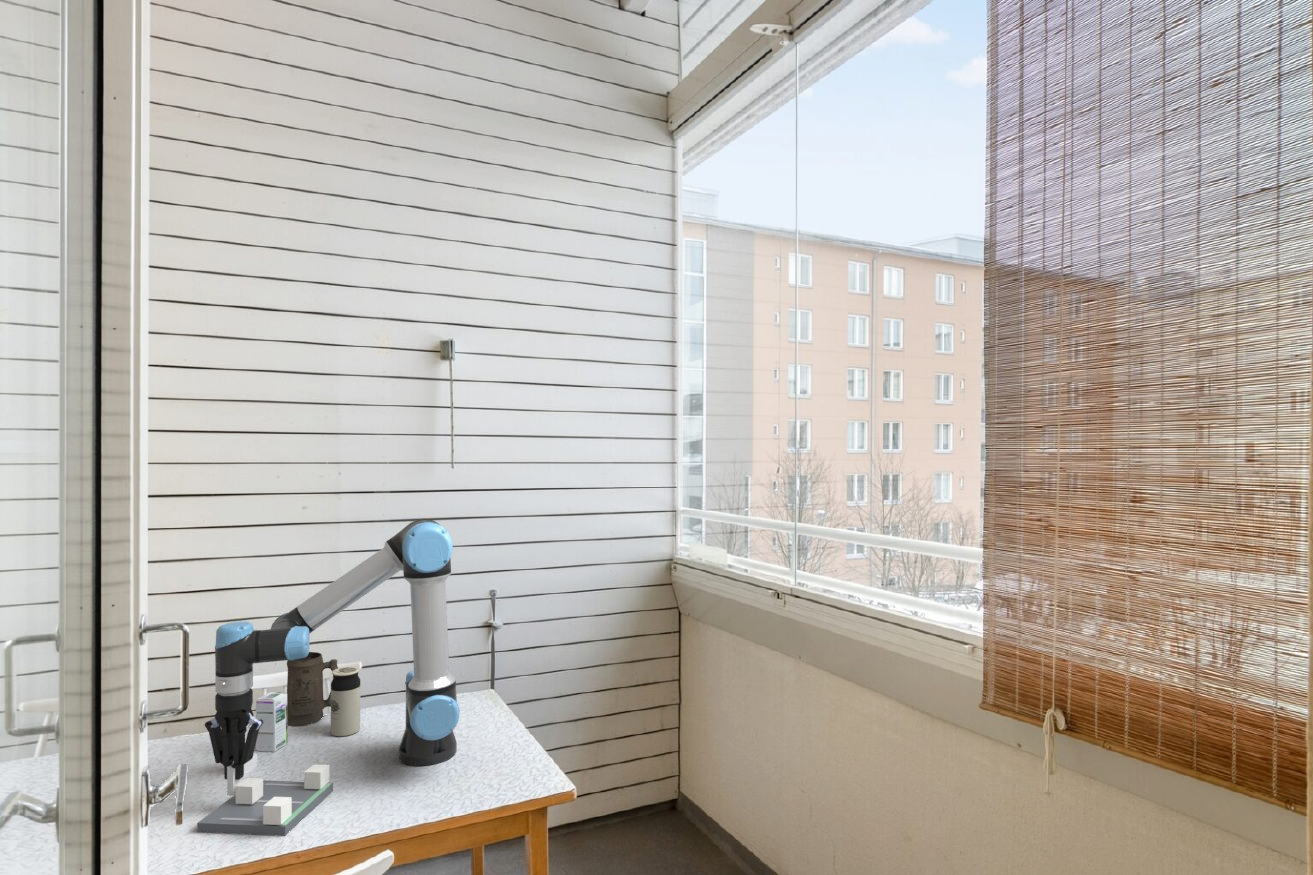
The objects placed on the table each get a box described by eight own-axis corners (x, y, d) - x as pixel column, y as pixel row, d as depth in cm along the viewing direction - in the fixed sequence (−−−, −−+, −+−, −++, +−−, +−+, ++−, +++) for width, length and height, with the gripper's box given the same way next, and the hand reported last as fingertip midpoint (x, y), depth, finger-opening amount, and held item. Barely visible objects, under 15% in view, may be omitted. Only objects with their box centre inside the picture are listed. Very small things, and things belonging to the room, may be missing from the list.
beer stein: (280, 728, 213) (285, 661, 213) (283, 716, 223) (288, 651, 223) (337, 724, 219) (342, 658, 220) (337, 712, 229) (342, 649, 229)
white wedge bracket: (214, 772, 179) (228, 735, 184) (240, 777, 188) (253, 741, 192) (226, 774, 179) (240, 736, 183) (252, 778, 187) (265, 742, 191)
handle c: (291, 815, 159) (291, 797, 159) (280, 824, 155) (280, 806, 155) (274, 814, 160) (274, 796, 160) (263, 824, 156) (263, 805, 156)
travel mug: (354, 724, 217) (354, 664, 217) (364, 731, 211) (364, 670, 211) (326, 731, 211) (327, 669, 212) (336, 739, 206) (336, 676, 206)
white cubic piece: (329, 781, 175) (329, 764, 175) (320, 789, 171) (320, 772, 171) (313, 780, 176) (313, 764, 176) (304, 788, 172) (304, 771, 172)
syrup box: (275, 752, 197) (275, 699, 197) (255, 751, 198) (255, 698, 198) (288, 743, 203) (288, 692, 203) (268, 742, 203) (268, 691, 203)
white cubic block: (263, 795, 168) (263, 778, 168) (252, 804, 164) (252, 786, 164) (246, 795, 168) (246, 777, 168) (235, 803, 164) (235, 786, 164)
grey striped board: (333, 790, 175) (333, 782, 175) (285, 835, 155) (285, 825, 155) (254, 788, 177) (254, 779, 177) (197, 832, 157) (197, 822, 157)
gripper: (196, 695, 163) (195, 799, 163) (250, 697, 163) (250, 801, 162) (218, 684, 171) (218, 784, 171) (270, 685, 170) (270, 785, 170)
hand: (234, 792), depth 167 cm, fingers closed
